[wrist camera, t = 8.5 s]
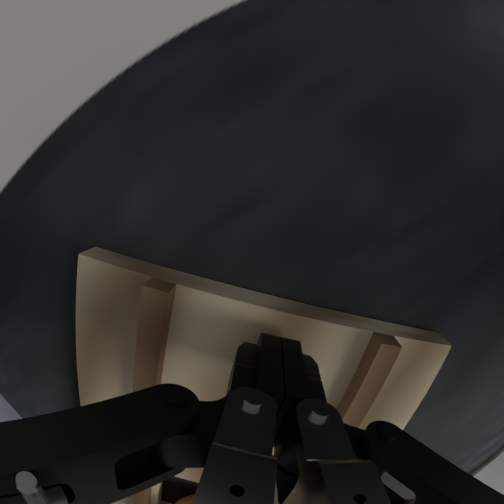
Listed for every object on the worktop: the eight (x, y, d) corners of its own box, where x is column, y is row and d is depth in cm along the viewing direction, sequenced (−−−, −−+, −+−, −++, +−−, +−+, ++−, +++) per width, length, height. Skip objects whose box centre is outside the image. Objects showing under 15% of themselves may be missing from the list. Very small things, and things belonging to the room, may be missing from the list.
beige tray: (438, 332, 13) (472, 367, 10) (296, 533, 18) (297, 563, 14) (95, 246, 13) (50, 266, 9) (105, 491, 18) (91, 519, 14)
